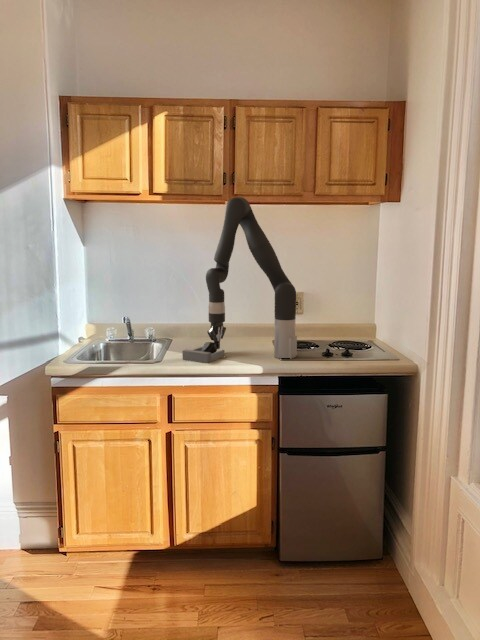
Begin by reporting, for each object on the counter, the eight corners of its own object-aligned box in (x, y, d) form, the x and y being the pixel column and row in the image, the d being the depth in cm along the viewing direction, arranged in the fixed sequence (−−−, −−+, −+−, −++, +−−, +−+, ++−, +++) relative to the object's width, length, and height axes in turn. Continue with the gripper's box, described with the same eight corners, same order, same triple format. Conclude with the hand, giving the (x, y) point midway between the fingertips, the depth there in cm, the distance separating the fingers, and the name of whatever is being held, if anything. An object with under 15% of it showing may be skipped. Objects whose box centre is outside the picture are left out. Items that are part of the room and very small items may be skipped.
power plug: (192, 357, 223) (205, 338, 230) (198, 368, 228) (211, 349, 235) (202, 359, 220) (215, 339, 227) (208, 370, 225) (221, 351, 232)
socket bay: (224, 356, 228) (224, 347, 228) (207, 363, 216) (207, 354, 216) (200, 353, 235) (200, 344, 234) (182, 359, 223) (182, 350, 222)
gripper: (215, 314, 224) (216, 352, 227) (231, 310, 235) (231, 347, 238) (201, 313, 228) (202, 350, 231) (217, 309, 239) (217, 345, 242)
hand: (217, 348), depth 234 cm, fingers closed
